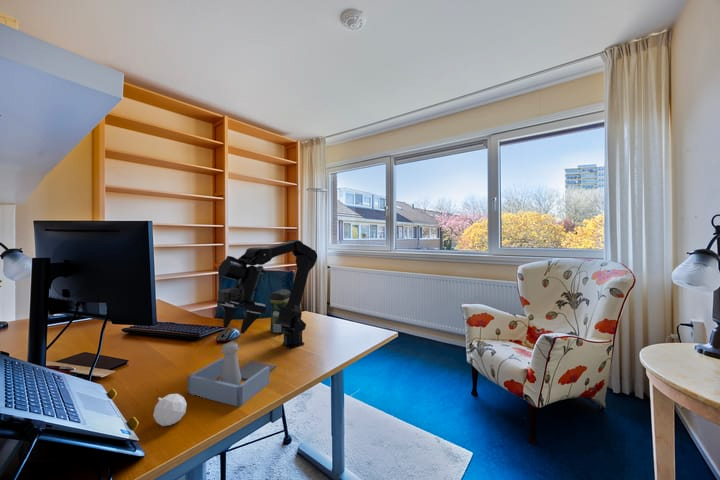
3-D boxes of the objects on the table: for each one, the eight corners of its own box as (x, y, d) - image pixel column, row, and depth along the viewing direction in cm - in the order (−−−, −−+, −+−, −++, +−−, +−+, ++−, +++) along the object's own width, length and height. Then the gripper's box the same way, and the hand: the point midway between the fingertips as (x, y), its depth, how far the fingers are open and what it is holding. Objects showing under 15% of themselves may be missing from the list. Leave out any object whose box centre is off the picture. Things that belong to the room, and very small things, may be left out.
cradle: (222, 373, 94) (221, 357, 94) (269, 383, 88) (269, 366, 88) (187, 393, 82) (187, 376, 82) (239, 406, 76) (239, 388, 76)
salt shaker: (217, 394, 82) (217, 348, 81) (221, 384, 87) (221, 341, 87) (240, 391, 83) (239, 346, 83) (242, 381, 89) (242, 339, 88)
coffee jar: (279, 326, 139) (279, 287, 138) (294, 328, 137) (293, 288, 136) (266, 333, 130) (266, 291, 129) (282, 335, 127) (282, 292, 127)
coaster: (251, 362, 101) (251, 361, 101) (275, 367, 98) (275, 365, 98) (229, 376, 92) (229, 374, 92) (256, 382, 88) (256, 380, 88)
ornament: (170, 434, 66) (147, 411, 64) (164, 430, 70) (142, 409, 69) (195, 407, 70) (174, 386, 69) (189, 406, 75) (168, 385, 74)
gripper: (210, 275, 98) (194, 322, 93) (245, 281, 87) (228, 334, 83) (238, 282, 106) (224, 326, 102) (273, 288, 96) (259, 337, 92)
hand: (233, 330), depth 95 cm, fingers open, 9 cm apart
